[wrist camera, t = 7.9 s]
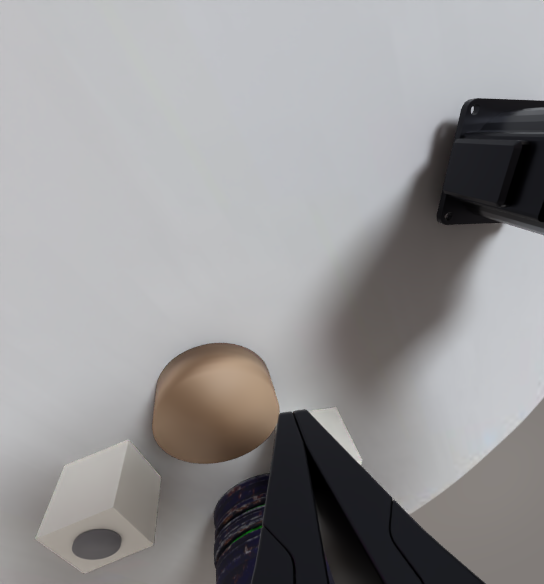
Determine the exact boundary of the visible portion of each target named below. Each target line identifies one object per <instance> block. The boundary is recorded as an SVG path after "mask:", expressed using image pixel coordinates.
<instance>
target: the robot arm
mask: <svg viewBox="0 0 544 584" xmlns="http://www.w3.org/2000/svg"><path fill="white" fill-rule="evenodd" d="M472 106H474V111H473V113H472V114H471V108H472ZM447 213H448V216H447V217H446V218H445V215H446V214H447ZM437 221H438V222H439V223H442V224H445V225H454V224H479V223H506V224H509V225H512V226H515V227H519V228H522V229H525V230H528V231H532V232H535V233H538V234H542V235H544V101H534V100H508V99H481V98H477V99H470V100H468V101H466V102H465V103H464V105H463V106H462V109H461V113H460V117H459V121H458V126H457V130H456V134H455V139H454V143H453V147H452V151H451V155H450V160H449V164H448V168H447V173H446V177H445V181H444V185H443V190H442V195H441V199H440V203H439V207H438V212H437ZM324 552H325V555H326V558H327V561H328V564H329V567H330V570H331V573H332V576H333V579H334V582H335V584H486V583H484V582H483V581H482V580H481V579H480V578H479V577H477V576H476V575H475V574H474V573H473V572H471V571H470V570H469V569H468V568H467V567H466V566H465V565H463V564H462V563H461V562H460V561H459V560H458V559H456V558H455V557H454V556H453V555H452V554H450V553H449V552H448V551H447V550H446V549H445V548H444V547H443V546H441V545H440V544H439V543H438V542H437V541H436V540H435V539H434V538H432V536H430V535H429V534H428V533H427V532H426V531H425V530H424V529H423V528H421V526H420V525H419V524H418V523H417V522H416V521H415V520H413V518H412V517H410V515H409V514H408V513H406V512H405V510H404V509H403V508H402V507H401V506H400V505H399V504H398V503H397V502H396V501H395V500H393V501H392V497H391V496H390V495H389V494H388V493H387V492H386V491H385V490H384V489H383V488H382V487H381V486H380V485H379V484H378V483H377V482H376V481H375V480H374V479H373V478H372V477H371V475H370V474H369V473H368V472H367V471H366V470H365V469H364V468H363V467H362V466H361V465H360V464H359V463H358V462H357V461H356V460H355V459H354V458H353V457H352V456H351V455H350V454H349V453H348V452H347V451H346V450H345V449H344V448H343V447H342V446H341V445H340V444H339V443H338V441H337V440H336V439H335V438H334V437H333V436H332V435H331V434H330V433H329V432H328V431H327V430H326V429H325V428H324V427H323V426H322V425H321V424H320V423H319V422H318V421H317V420H316V419H315V418H314V417H313V416H312V415H311V414H310V413H309V412H308V411H307V410H305V409H303V410H297V411H294V412H293V413H292V412H284V413H280V414H279V416H278V422H277V429H276V435H275V442H274V449H273V455H272V462H271V468H270V475H269V482H268V488H267V495H266V502H265V508H264V515H263V521H262V528H261V534H260V540H259V547H258V552H257V557H256V563H255V568H254V573H253V577H252V581H251V584H330V583H329V577H328V572H327V566H326V560H325V555H324Z"/></svg>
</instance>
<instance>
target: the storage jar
mask: <svg viewBox="0 0 544 584" xmlns="http://www.w3.org/2000/svg"><path fill="white" fill-rule="evenodd" d="M269 475H270V474H264V475H259V476H256V477H253V478H250V479H248V480H245V481H243V482H241V483H239V484H238V485H236V486H234V487H233V488H231V489H230V490H229V491H228V492H227V493H225V494H224V495H223V497H222V498H221V499H220V500H219V502H218V504H217V506H216V508H215V511H214V524H215V528H216V530H215V544H214V564H215V568H216V584H251V581H252V577H253V573H254V568H255V563H256V557H257V552H258V547H259V540H260V534H261V528H262V521H263V515H264V508H265V502H266V495H267V488H268V482H269ZM324 555H325V552H324ZM325 560H326V566H327V572H328V577H329V583H330V584H335V582H334V579H333V576H332V573H331V570H330V567H329V564H328V561H327V558H326V555H325Z"/></svg>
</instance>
